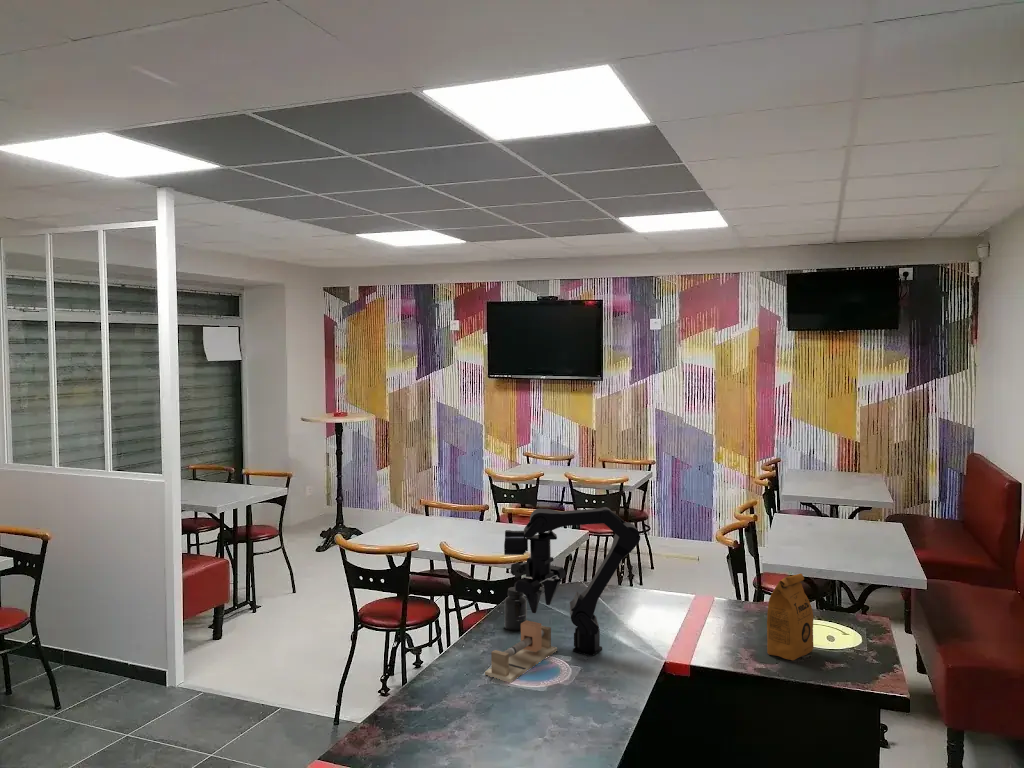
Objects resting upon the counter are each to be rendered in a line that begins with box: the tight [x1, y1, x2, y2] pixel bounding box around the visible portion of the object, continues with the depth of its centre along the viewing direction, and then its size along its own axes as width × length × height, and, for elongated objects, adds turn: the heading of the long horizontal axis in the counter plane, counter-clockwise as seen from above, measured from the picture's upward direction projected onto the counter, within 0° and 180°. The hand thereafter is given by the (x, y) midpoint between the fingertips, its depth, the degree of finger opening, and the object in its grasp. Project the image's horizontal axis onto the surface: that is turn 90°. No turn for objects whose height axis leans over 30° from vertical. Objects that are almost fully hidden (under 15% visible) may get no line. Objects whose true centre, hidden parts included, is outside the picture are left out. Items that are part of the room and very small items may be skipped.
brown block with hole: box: [520, 619, 542, 652], centre depth 204 cm, size 3×5×7 cm, turn 57°
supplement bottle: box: [504, 586, 528, 632], centre depth 226 cm, size 7×7×12 cm
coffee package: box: [766, 573, 815, 661], centre depth 204 cm, size 10×12×22 cm
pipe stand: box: [484, 624, 558, 683], centre depth 200 cm, size 24×8×6 cm, turn 146°
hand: (541, 608), depth 208 cm, fingers open, 7 cm apart
